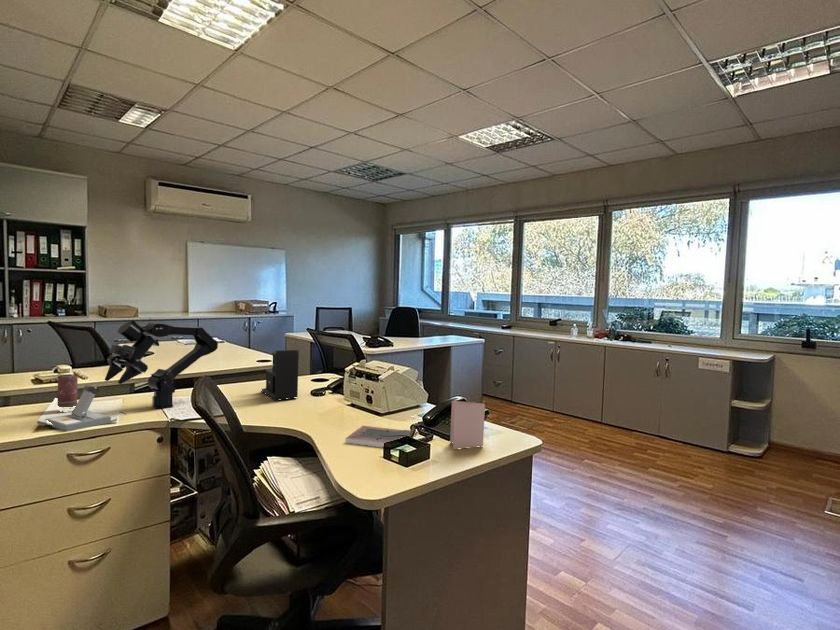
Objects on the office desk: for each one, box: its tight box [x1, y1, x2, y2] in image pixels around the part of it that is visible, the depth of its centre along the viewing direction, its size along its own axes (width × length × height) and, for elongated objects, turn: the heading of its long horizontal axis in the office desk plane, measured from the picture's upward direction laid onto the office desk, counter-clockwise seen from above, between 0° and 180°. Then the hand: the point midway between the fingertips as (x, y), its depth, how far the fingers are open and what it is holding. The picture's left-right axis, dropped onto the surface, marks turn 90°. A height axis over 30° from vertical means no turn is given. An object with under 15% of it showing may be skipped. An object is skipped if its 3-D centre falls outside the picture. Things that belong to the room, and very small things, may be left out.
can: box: [57, 374, 79, 407], centre depth 178 cm, size 6×6×14 cm
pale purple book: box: [345, 425, 418, 448], centre depth 159 cm, size 16×2×22 cm
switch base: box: [45, 410, 112, 432], centre depth 163 cm, size 14×14×2 cm
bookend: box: [261, 349, 300, 401], centre depth 220 cm, size 23×11×24 cm, turn 35°
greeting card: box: [449, 400, 486, 450], centre depth 154 cm, size 11×7×15 cm, turn 77°
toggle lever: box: [71, 385, 100, 418], centre depth 164 cm, size 2×6×11 cm, turn 63°
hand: (112, 382), depth 172 cm, fingers open, 9 cm apart
